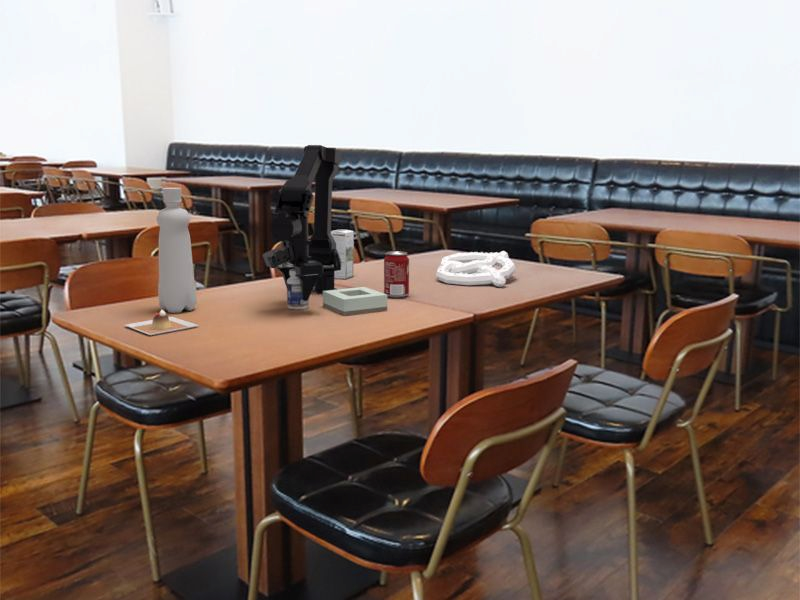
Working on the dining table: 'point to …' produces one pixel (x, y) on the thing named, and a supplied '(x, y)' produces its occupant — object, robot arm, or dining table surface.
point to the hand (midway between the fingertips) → (297, 297)
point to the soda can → (396, 274)
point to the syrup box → (344, 252)
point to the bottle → (175, 256)
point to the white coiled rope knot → (475, 268)
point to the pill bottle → (295, 292)
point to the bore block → (354, 300)
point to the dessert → (162, 323)
